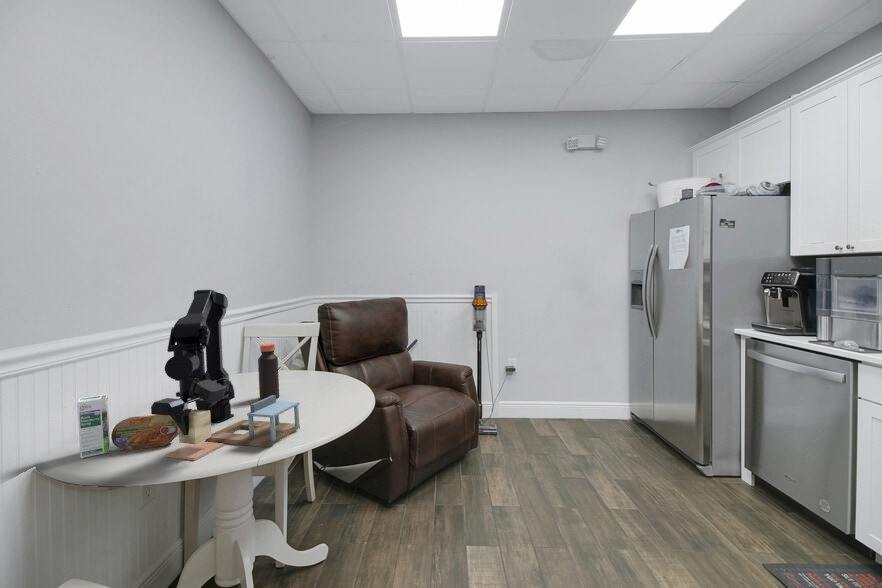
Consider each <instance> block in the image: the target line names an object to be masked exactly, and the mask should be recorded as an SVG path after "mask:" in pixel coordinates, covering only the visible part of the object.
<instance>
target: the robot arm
mask: <svg viewBox="0 0 882 588" xmlns="http://www.w3.org/2000/svg"><path fill="white" fill-rule="evenodd" d="M228 307H229V299H228V297H227V296H226V295H225V293H224V294H223V293H222V292H221V293H220V292H218V291H216V290H214V289H197V290H194V292H193V300H192V301H191V304H190V306H189V308H188V311H187V313H186V315H185V316H182V317H181V318H178V320H177V321H176V322H175V323H174V325H173V327H172V328H171V330H170V335H169V341H168V344H167V345H168V346H167V353H172V352H173V356H172V357H169V359H168V360H167V361H166V362H165V366H164V372H165V374H166V376H167V377H169V378H170V379H172V380H174V381H175V382H177V381H178V382H179V383H178V384H179V385H178V386H179V387H178V388H179V391H177V392H175V397H177V398H171V397H166V398H162V399H160V400H157V401H154V402H153V403H152V404H151V406H150V409H151V410H150V411H151V413H150V415H167V416H169V415H170V416H171V418H172V419H173V420H174V421H175V423H176V424H177V426H178V427H179V429H180V430H181V432H182V433H183V435H188V432H189V414H190V412H191V411H192V410H193V408H189V404H191V403H195V407H196V409H200V410H210V417H211V423H221V422H223V421H226V420H228V419H230V418H233V417H235V414H234V413H232V407H231V405H232V404H231V402H230V401H231V400H232V399H235V398H236V396H235V394H236V393H235V389H234V384H232V380H230V375H229V373H228V372H227V371H226V369H225V368H224V367H223V366H224V364H223V362H224V361H223V360H224V359H223V342H222V341H223V339H222V338H223V337H222V321H223V319H224V318H225V315H226V314H227V309H228ZM204 350H205V351H204ZM205 362H206V365H205ZM205 369H206V370H205Z"/></svg>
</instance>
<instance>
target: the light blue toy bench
mask: <svg viewBox="0 0 882 588" xmlns="http://www.w3.org/2000/svg"><path fill="white" fill-rule="evenodd" d="M299 405H300V402H298V401H286V400H277V399H276V395H272V396H269V397H267V398H265V399H262V400H260V399H259V400H258V401H255V402H253V403H251V404H250V412H247V414H246V416H247V417H248V419H247V420H248V421H249V429H248V432H249V439H253V438H254V422H253V420H254V417H259V418H269V422H270V430H271V441H275V440H276V432H275V425H279V422H280V417H279V415H282V414H283V413H285V412H287V411H289V410H291V409H293V412H294V413H293V414H294V415H293V416H294V424H295V427H298V426H299V424H300V411H299V410H300V408H299Z"/></svg>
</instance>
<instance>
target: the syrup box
mask: <svg viewBox="0 0 882 588" xmlns="http://www.w3.org/2000/svg"><path fill="white" fill-rule="evenodd" d="M108 402H109V400H108V393H103V394H97V395H93V396H92V395H91V396H84V397H79V398H78V400H77V403H76V408H77V422H78V423H77V424H78V425H77V426H78V435H79V457H80V459H85V458H89V457H95V456H99V455H104V454H108V453H110V449H111V438H110V437H111V436H110V419H109V418H110V417H109V403H108Z"/></svg>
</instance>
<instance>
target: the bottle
mask: <svg viewBox="0 0 882 588" xmlns="http://www.w3.org/2000/svg"><path fill="white" fill-rule="evenodd" d="M259 346H260V348H259V350H260V353H261V355H260V356H259V357H258V359H257V365H258V366H257V367H258V390H259V401H260V400H262V399H265V398H267V397H269V396H272V395H276V400H277V399H278V398H280V383H279V359H278V356H277V355H276V354H275V348H276V347H275V346H276V345H275V343H264V344H261V345H259Z"/></svg>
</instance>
